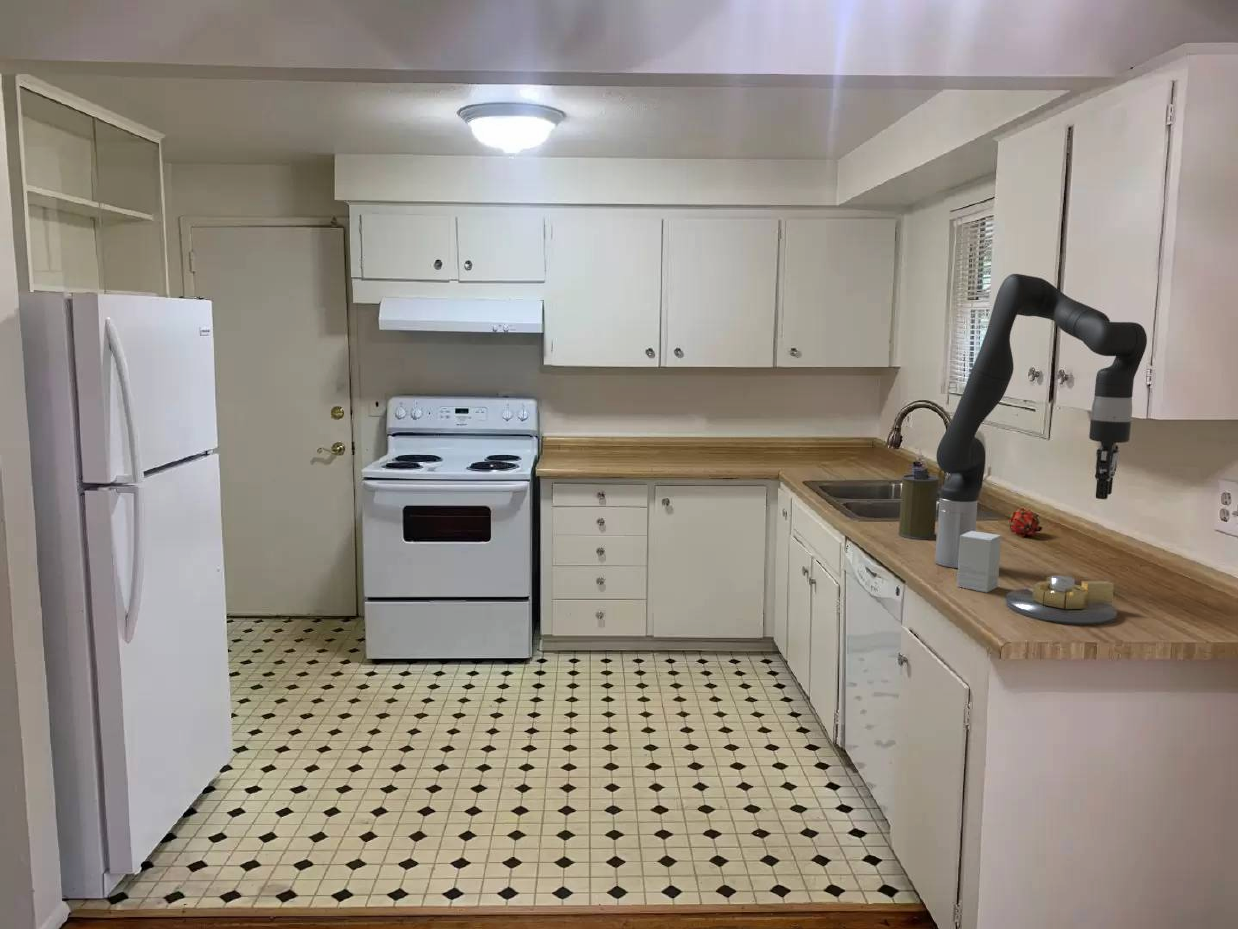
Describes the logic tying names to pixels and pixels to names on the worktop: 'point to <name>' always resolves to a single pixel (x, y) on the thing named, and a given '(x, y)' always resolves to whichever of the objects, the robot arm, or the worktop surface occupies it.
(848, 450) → the worktop surface
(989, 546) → the supplement box
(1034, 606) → the flange
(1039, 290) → the robot arm
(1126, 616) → the worktop surface
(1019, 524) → the dragon fruit
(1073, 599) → the tan curved piece
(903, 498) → the canister
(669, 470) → the worktop surface
